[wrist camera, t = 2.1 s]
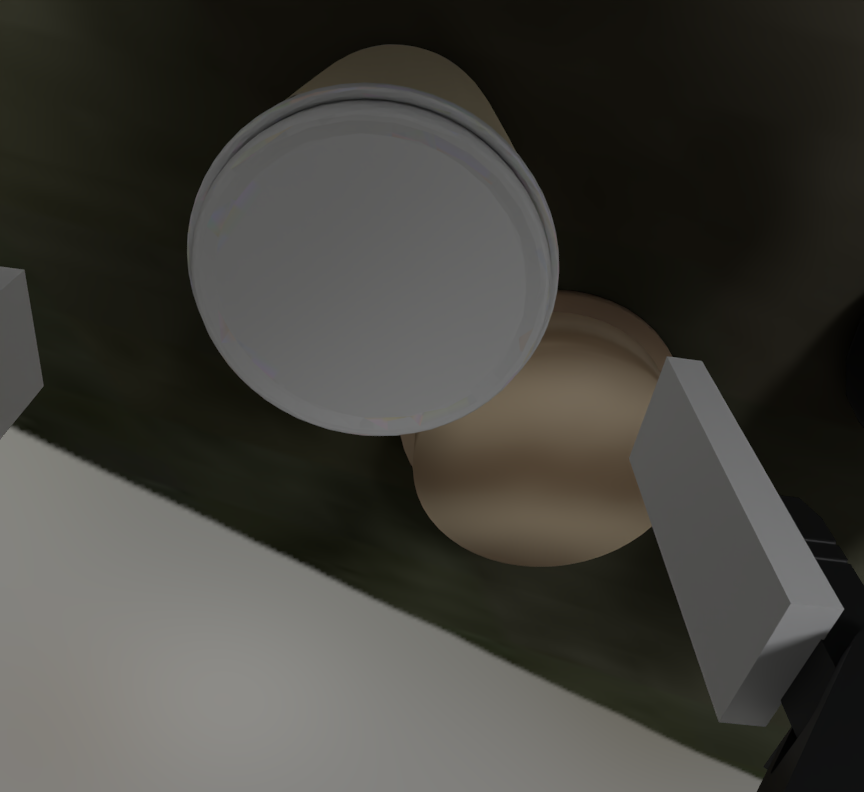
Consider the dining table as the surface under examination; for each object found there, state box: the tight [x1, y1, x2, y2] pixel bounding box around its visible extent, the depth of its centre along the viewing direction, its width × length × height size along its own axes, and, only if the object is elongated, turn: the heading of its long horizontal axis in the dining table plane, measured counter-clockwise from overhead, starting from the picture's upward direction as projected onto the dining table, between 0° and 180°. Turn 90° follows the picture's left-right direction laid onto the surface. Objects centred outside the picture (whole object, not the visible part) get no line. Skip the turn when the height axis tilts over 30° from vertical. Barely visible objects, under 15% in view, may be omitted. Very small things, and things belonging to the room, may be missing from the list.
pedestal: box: [401, 290, 672, 567], centre depth 33 cm, size 13×13×4 cm
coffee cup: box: [187, 44, 559, 436], centre depth 23 cm, size 9×9×12 cm
